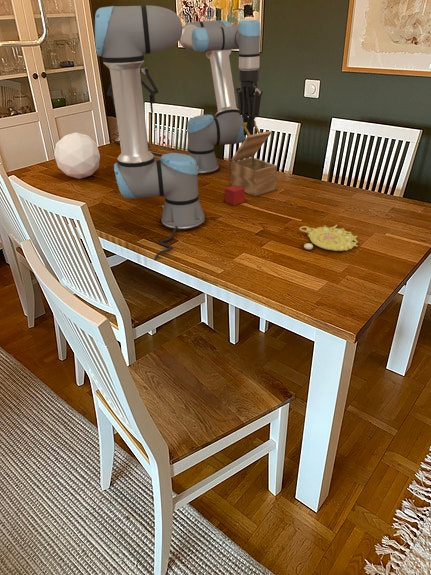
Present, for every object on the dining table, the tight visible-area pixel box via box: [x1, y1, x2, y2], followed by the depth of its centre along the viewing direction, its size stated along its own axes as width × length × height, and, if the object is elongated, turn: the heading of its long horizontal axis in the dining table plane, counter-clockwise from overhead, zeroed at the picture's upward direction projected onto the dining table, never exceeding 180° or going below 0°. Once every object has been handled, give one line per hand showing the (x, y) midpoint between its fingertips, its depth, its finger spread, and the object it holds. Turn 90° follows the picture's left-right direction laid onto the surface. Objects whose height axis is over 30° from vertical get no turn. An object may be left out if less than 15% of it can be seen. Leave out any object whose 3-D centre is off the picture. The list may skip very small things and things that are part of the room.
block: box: [224, 185, 246, 206], centre depth 170 cm, size 5×5×5 cm
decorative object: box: [299, 224, 359, 252], centre depth 141 cm, size 21×2×20 cm
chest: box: [230, 156, 278, 197], centre depth 181 cm, size 15×11×10 cm
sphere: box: [53, 131, 101, 180], centre depth 196 cm, size 19×20×20 cm
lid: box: [230, 120, 272, 162], centre depth 176 cm, size 16×11×8 cm
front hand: (135, 113), depth 181 cm, fingers open, 13 cm apart
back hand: (248, 135), depth 175 cm, fingers closed on lid, 1 cm apart
